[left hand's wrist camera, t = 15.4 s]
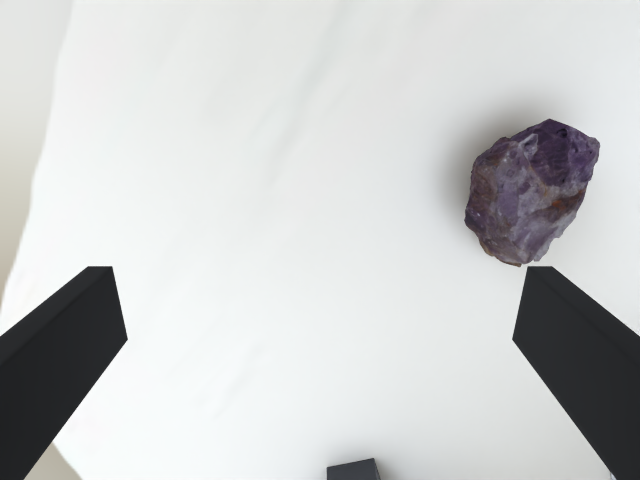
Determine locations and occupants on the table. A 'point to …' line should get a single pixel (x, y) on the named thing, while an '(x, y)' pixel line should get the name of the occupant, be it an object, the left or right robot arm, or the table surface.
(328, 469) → the box
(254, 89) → the table surface
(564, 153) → the rock
